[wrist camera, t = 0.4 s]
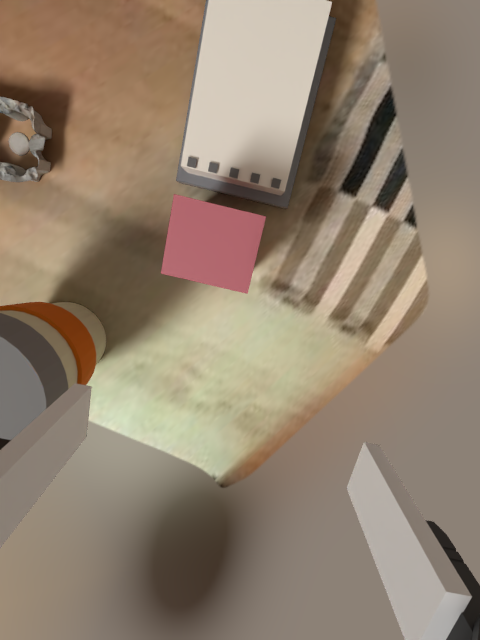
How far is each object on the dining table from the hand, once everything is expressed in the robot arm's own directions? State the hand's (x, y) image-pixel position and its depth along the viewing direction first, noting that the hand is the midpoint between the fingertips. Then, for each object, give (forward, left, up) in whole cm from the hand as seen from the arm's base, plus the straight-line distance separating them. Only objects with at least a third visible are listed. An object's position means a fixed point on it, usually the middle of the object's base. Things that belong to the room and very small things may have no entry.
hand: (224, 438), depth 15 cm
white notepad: (-21, -4, -24) cm, 33 cm away
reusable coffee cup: (+8, -20, -25) cm, 32 cm away
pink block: (-8, -4, -24) cm, 25 cm away
